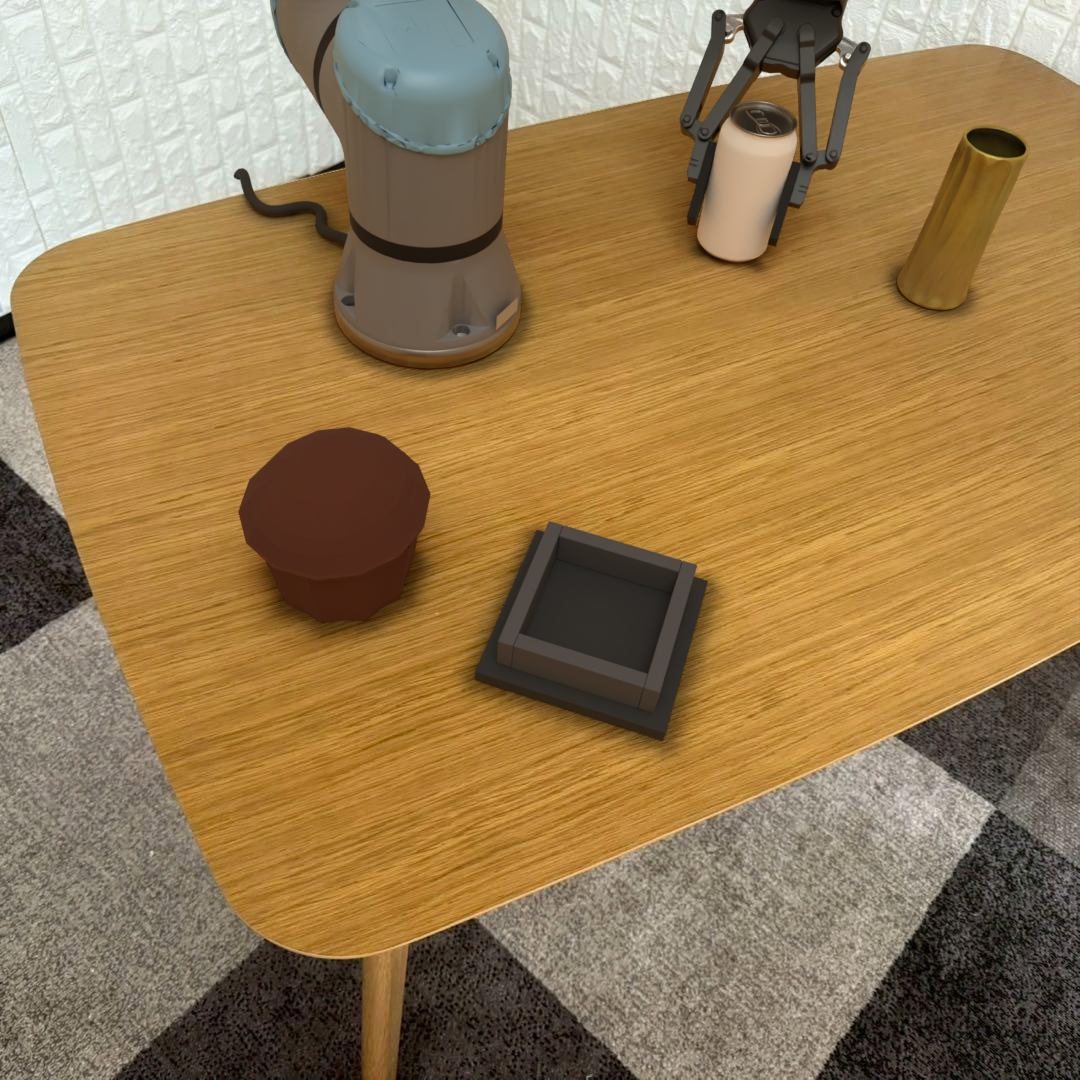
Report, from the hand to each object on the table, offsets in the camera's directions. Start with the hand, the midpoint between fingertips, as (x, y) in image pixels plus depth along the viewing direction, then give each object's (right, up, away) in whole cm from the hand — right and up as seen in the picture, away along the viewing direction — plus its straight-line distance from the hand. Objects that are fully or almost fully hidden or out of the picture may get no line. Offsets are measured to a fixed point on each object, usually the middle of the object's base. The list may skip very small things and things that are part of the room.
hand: (731, 231), depth 88 cm
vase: (+18, -4, +3) cm, 19 cm away
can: (+1, 0, +5) cm, 5 cm away
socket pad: (-13, -32, -22) cm, 42 cm away
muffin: (-29, -28, -20) cm, 46 cm away
